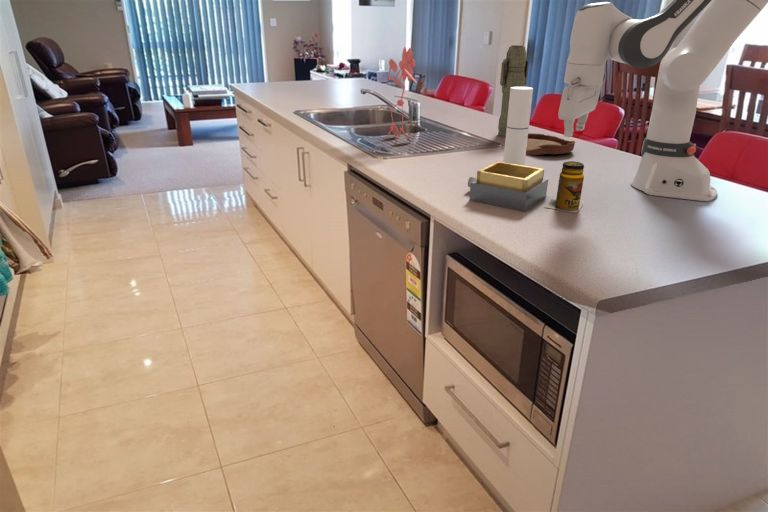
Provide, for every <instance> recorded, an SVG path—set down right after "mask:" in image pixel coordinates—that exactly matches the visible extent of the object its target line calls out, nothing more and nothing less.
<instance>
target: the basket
mask: <svg viewBox="0 0 768 512" xmlns="http://www.w3.org/2000/svg"><path fill="white" fill-rule="evenodd" d="M575 144H576V141H575V140H567V139H564V138H560V137H557V136H555V135H554V136H553V135H549V134H546V135H545V134H542V133H535V132H534V133H529V132H528V139H527V148H526V155H528V156H539V155H560V154H562V155H563V154H569V153H571V152H572V151H573V150H574V148H575Z"/></svg>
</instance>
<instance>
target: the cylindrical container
mask: <svg viewBox="0 0 768 512" xmlns="http://www.w3.org/2000/svg"><path fill="white" fill-rule="evenodd" d="M533 93H534V88H533V87H530V86H525V87H511V88H510V98H509V108H508V118H507V129H506V137H505V141H504V149H503V150H504V151H503V161H502V162H505V163H511V164H517V165H523V166H526V165H525V164H526V156H527V154H526V148H527V139H528V133H529V131H530V130H529V129H530V128H529V127H530V121H531V112H532V104H533V103H532V102H533Z"/></svg>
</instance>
